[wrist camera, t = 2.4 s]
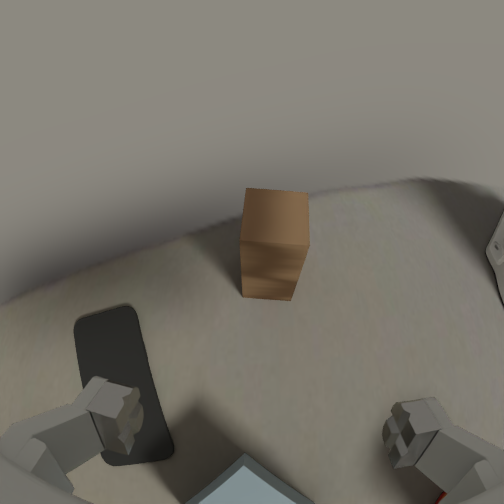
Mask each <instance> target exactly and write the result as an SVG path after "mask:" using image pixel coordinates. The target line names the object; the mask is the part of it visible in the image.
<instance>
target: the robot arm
mask: <svg viewBox="0 0 504 504" xmlns="http://www.w3.org/2000/svg"><path fill="white" fill-rule="evenodd" d="M486 255H487V257H488V259H489V262H490V263H491V265H492V267H493V269H494V271H495V275H496V278H497V283H498V287H499V291H500V294H501V297H502V300H503V303H504V211H503V214H502V216H501V218H500V221H499V223H498V225H497V227H496V229H495V232H494V234H493V236H492V238H491V240H490V242H489V244H488V246H487V248H486ZM139 398H140V392H139V388H137V387H135V386H131V385H127V384H124V383H120V382H116V381H113V380H108V379H105V378H102V377H98V376H95V377H93V378H92V379H91V380H90V381H89V383H88V384H87V385H86V386H85V388H84V389H83V390H82V392H81V393H80V394H79V395H78V397H77V398H76V399H75V401H74V402H73V403H72V405H70V404H66V405H63V406H60V407H58V408H55V409H53V410H50V411H47V412H44V413H42V414H39V415H36V416H33V417H31V418H28V419H25V420H22V421H19V422H16V423H13V424H12V425H11V426H10V427H9V428H8V429H7V431H6V432H5V433H4V434H3V436H2V437H1V438H0V504H93V503H91V502H88V501H86V500H84V499H81V498H79V497H77V496H75V495H73V494H72V492H73V490H74V487H73V484H72V483H71V482H70V480H69V479H68V478H67V476H66V475H65V474H67V473H68V472H70V471H72V470H73V469H75V468H77V467H78V466H80V465H82V464H83V463H85V462H86V461H88V460H90V459H91V458H93V457H94V456H96V455H97V454H99V453H100V452H102V451H104V449H108V450H111V451H114V452H118V453H121V454H125V455H129V453H130V451H131V449H132V446H133V444H134V442H135V440H134V436H133V435H134V434H136V433H137V432H139V431H140V429H141V426H142V423H143V418H144V414H143V406H142V405H141V404H140V403H139V401H138V400H139ZM391 413H392V416H391V417H389V418H388V419H387V420H386V422H385V424H384V426H383V432H382V437H383V441H384V444H385V446H387V447H388V448H389V449H390V452H389V454H388V455H389V458H390V461H391V464H392V466H393V469H395V468H401V467H406V466H412V465H415V467H416V468H418V469H419V470H420V471H421V472H422V473H423V474H425V475H426V476H427V477H428V478H429V479H430V480H432V481H433V482H434V483H435V484H436V485H438V486H439V487H440V488H441V489H442V490H444V491H445V492H446V493H447V495H446V496H445V497H444V498H443V499H442V500H441V501H440V502H439V503H438V504H504V450H503V449H501V448H499V447H497V446H495V445H493V444H491V443H489V442H487V441H485V440H483V439H481V438H480V437H478V436H476V435H474V434H472V433H470V432H468V431H467V430H465V429H463V428H461V427H459V426H454V425H453V423H452V422H451V420H450V419H449V417H448V415H447V414H446V412H445V411H444V409H443V408H442V406H441V405H440V403H439V401H438V400H437V399H436V398H435V397H430V398H424V399H418V400H411V401H403V402H396V403H395V404H394V405H393V407H392V409H391Z"/></svg>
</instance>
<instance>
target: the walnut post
mask: <svg viewBox="0 0 504 504" xmlns="http://www.w3.org/2000/svg"><path fill="white" fill-rule="evenodd" d="M309 246H310V240H309V206H308V193H304V192H293V191H281V190H267V189H254V188H246V194H245V202H244V209H243V217H242V224H241V232H240V258H241V276H242V294H243V297H245V298H257V299H270V300H284V301H291V298H292V296H293V293H294V290H295V287H296V284H297V281H298V279H299V276H300V273H301V270H302V267H303V264H304V261H305V258H306V255H307V252H308V249H309Z"/></svg>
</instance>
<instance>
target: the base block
mask: <svg viewBox="0 0 504 504" xmlns="http://www.w3.org/2000/svg"><path fill="white" fill-rule="evenodd" d="M185 504H315V503H314V502H312V501H311V500H309V499H308V498H306V497H305V496H303V495H302V494H300V493H299V492H297V491H296V490H294V489H293V488H291V487H290V486H288V485H287V484H286V483H284V482H283V481H281V480H280V479H279V478H277V477H276V476H275V475H273V474H272V473H270V472H269V471H268V470H267V469H265V468H264V467H263V466H261V465H260V464H259V463H257V462H256V461H255V460H254V459H252V458H251V457H250V456H249V455H247V454H246V453H244V454H243V455H242V456H241V457H240V458H239V459H238V460H236V461H235V462H234V463H233V464H232V465H231V466H230V467H229V468H228V469H226V470H225V471H224V472H223V473H222V474H221V475H219V476H218V477H217V478H216V479H215V480H214V481H212V482H211V483H210V484H209V485H208V486H206V487H205V488H204V489H203V490H201V491H200V492H199V493H198V494H196V495H195V496H194V497H193V498H191V499H190V500H189V501H187V502H186V503H185Z"/></svg>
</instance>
